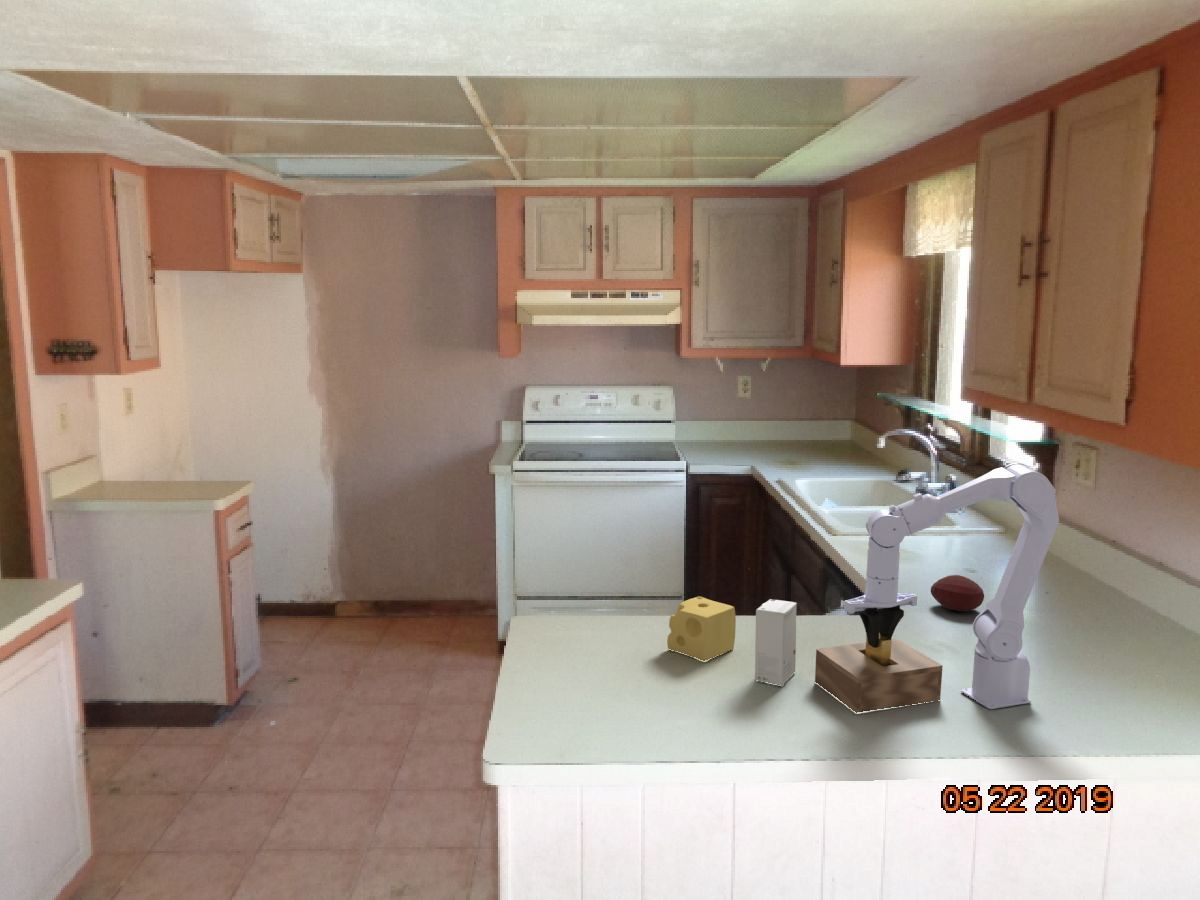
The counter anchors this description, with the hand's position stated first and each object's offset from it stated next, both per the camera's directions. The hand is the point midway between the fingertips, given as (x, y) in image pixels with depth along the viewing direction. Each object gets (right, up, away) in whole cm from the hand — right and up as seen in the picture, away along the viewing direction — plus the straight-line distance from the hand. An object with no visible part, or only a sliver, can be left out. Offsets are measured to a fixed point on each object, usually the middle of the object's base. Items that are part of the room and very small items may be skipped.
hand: (878, 644), depth 170 cm
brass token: (0, -3, +1) cm, 3 cm away
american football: (+33, -2, +46) cm, 57 cm away
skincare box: (-18, -8, +8) cm, 22 cm away
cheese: (-31, -6, +22) cm, 38 cm away
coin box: (0, -9, +2) cm, 9 cm away
